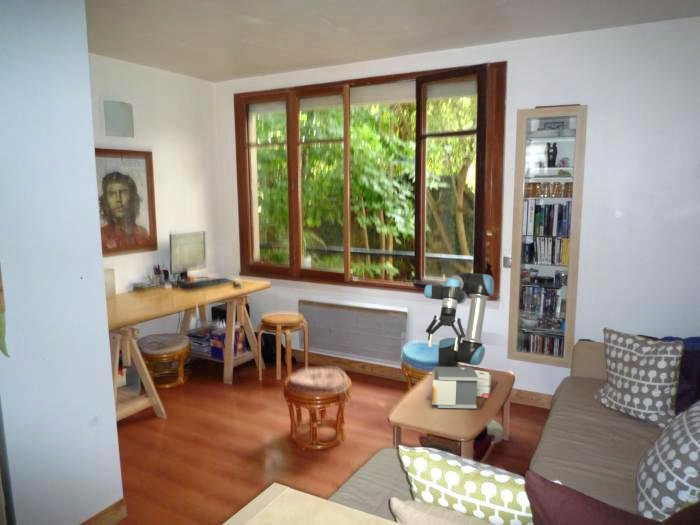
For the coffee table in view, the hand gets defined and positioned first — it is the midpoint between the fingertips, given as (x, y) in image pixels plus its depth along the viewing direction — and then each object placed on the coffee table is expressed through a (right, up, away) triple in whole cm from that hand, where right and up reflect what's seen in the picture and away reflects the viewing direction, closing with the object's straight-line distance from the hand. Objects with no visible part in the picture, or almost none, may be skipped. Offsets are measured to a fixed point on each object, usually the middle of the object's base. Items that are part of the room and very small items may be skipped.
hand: (442, 349), depth 255 cm
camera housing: (+9, -31, +14) cm, 35 cm away
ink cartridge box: (+26, -30, +25) cm, 47 cm away
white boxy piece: (+2, -30, +5) cm, 31 cm away
